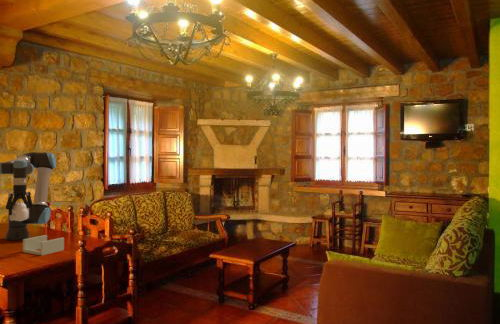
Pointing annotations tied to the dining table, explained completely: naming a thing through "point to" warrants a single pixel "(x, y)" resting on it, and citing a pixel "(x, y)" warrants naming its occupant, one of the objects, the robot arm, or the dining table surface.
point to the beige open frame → (42, 245)
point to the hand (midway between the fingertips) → (19, 218)
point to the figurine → (20, 212)
